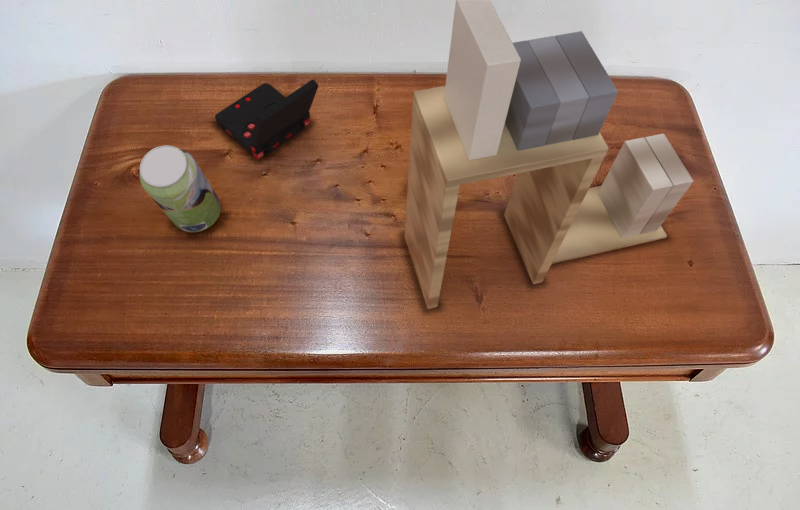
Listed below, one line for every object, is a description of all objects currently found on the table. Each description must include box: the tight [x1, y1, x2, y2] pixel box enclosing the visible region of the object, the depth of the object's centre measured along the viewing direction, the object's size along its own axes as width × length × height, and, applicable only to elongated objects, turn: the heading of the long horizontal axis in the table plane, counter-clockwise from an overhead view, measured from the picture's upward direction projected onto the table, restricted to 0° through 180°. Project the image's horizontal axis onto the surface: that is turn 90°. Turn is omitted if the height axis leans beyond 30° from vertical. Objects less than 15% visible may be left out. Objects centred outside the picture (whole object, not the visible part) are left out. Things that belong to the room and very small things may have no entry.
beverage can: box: [139, 144, 222, 233], centre depth 69 cm, size 6×7×12 cm
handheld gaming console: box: [214, 79, 319, 160], centre depth 77 cm, size 9×12×10 cm
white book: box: [444, 0, 521, 160], centre depth 46 cm, size 7×2×10 cm, turn 15°
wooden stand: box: [404, 30, 619, 310], centre depth 59 cm, size 10×14×29 cm
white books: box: [551, 133, 694, 265], centre depth 70 cm, size 9×16×10 cm, turn 105°
